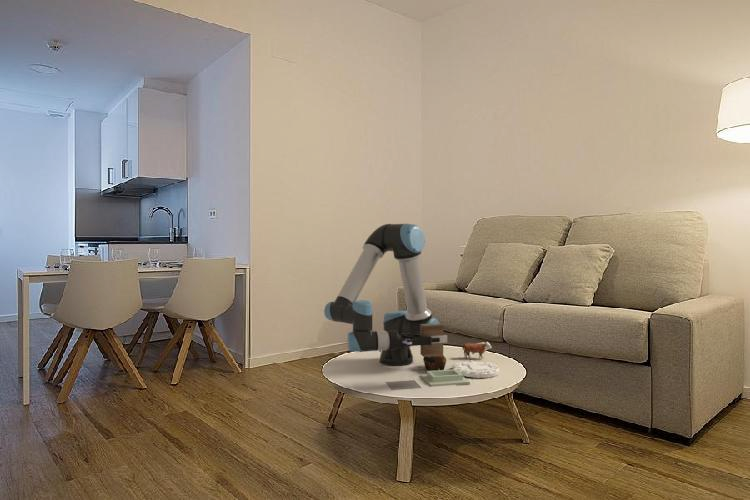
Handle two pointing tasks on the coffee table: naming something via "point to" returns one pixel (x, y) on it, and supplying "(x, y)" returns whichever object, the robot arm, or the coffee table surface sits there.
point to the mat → (403, 385)
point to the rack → (444, 378)
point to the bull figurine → (475, 349)
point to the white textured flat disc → (477, 369)
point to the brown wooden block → (429, 331)
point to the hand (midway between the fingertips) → (444, 337)
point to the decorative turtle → (435, 362)
